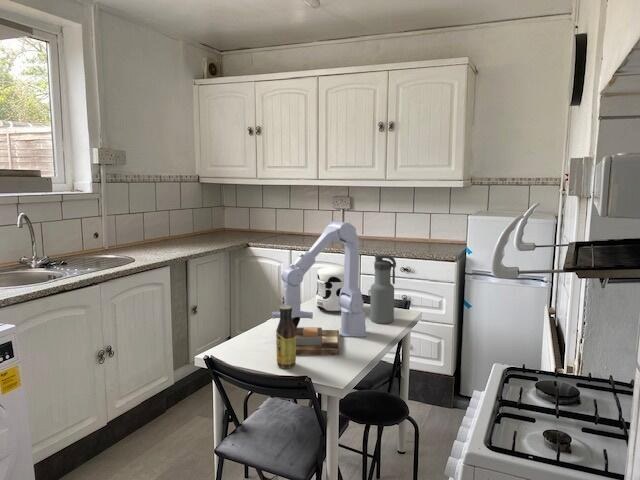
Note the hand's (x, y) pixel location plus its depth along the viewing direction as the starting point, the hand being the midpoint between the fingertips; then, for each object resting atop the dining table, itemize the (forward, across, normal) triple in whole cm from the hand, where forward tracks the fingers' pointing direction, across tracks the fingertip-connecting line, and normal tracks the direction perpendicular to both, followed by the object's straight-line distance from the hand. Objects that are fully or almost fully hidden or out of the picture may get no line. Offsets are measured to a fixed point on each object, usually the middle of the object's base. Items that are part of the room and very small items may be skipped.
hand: (292, 337), depth 174 cm
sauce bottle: (+3, -1, -19) cm, 19 cm away
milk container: (+3, +15, +44) cm, 47 cm away
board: (+3, +6, 0) cm, 7 cm away
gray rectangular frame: (+1, +4, 0) cm, 4 cm away
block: (+1, +6, 0) cm, 6 cm away
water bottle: (+3, +35, +28) cm, 45 cm away
